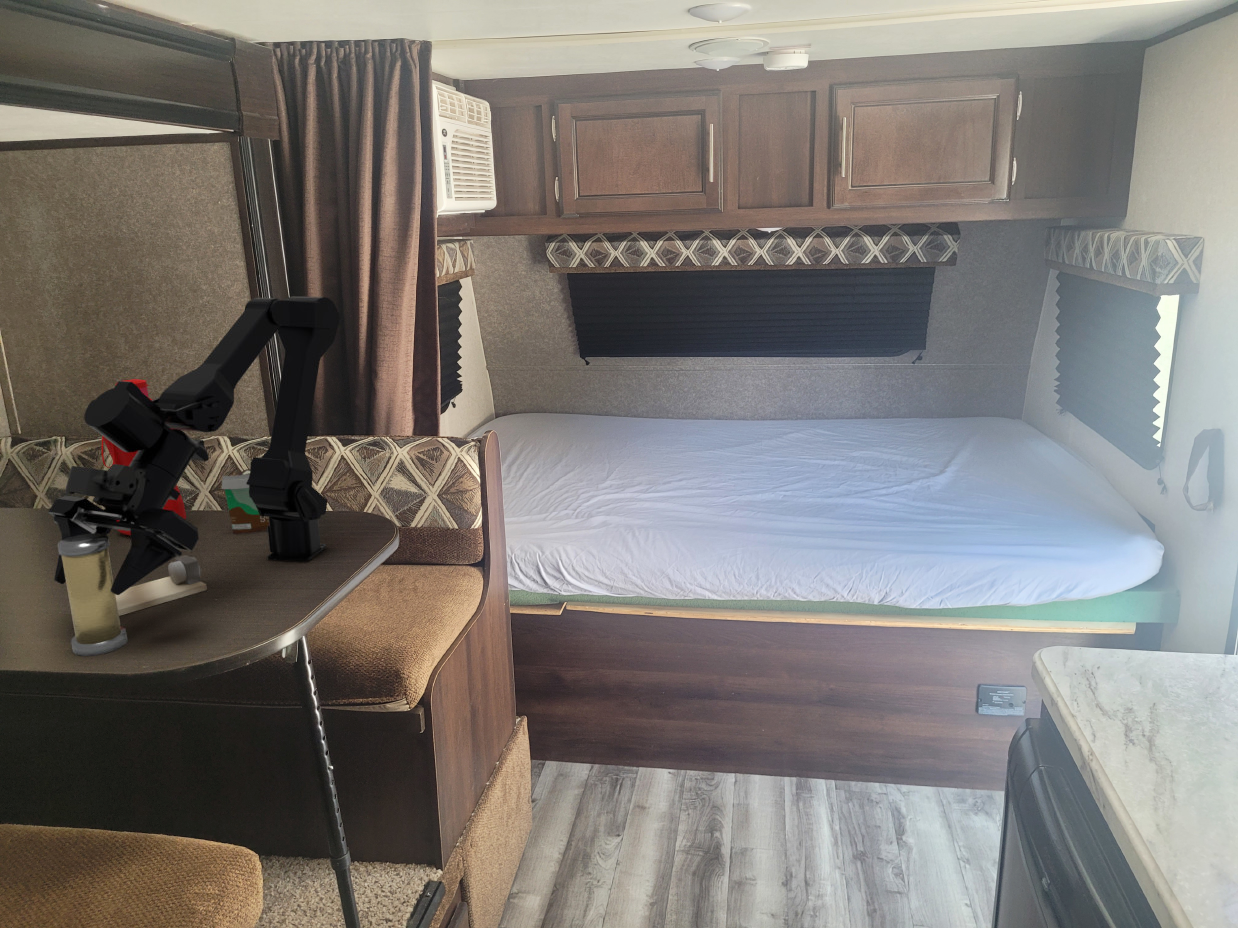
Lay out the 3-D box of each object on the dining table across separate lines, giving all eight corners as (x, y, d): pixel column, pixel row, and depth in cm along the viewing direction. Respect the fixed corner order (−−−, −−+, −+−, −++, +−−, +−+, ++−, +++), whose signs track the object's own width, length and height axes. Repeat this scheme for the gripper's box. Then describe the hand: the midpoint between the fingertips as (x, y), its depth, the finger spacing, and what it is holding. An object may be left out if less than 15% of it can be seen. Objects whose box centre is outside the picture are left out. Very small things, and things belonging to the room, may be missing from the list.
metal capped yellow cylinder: (137, 635, 106) (122, 533, 103) (106, 656, 100) (88, 549, 97) (95, 633, 106) (78, 531, 103) (61, 654, 101) (42, 547, 98)
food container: (262, 538, 141) (255, 478, 138) (227, 536, 142) (220, 476, 139) (302, 515, 152) (296, 459, 150) (270, 513, 153) (263, 458, 151)
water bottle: (98, 537, 142) (73, 384, 136) (160, 518, 151) (139, 374, 145) (134, 545, 138) (110, 388, 131) (195, 526, 147) (175, 378, 141)
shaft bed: (186, 577, 124) (183, 551, 123) (209, 589, 120) (205, 563, 119) (72, 609, 114) (67, 581, 113) (92, 623, 109) (87, 595, 108)
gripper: (50, 431, 105) (-28, 546, 98) (165, 442, 98) (89, 568, 91) (118, 478, 114) (51, 588, 107) (227, 492, 107) (163, 610, 100)
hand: (85, 587), depth 101 cm, fingers open, 9 cm apart
